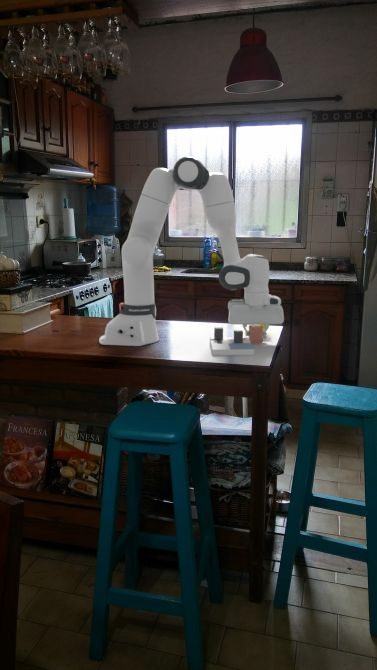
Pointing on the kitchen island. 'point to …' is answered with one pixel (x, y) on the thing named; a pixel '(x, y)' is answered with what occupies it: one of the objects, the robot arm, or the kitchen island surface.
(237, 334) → the breaker
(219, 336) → the breaker
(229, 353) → the panel
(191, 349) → the kitchen island surface
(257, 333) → the cap
